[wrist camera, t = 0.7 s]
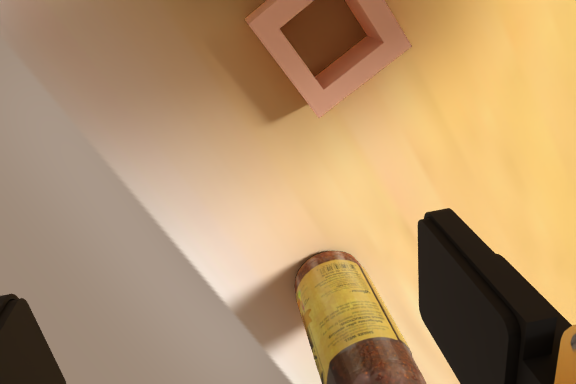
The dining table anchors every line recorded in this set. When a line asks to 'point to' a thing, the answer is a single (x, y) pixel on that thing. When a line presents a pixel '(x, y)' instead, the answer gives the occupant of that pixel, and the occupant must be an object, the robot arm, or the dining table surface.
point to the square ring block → (347, 68)
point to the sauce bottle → (350, 324)
